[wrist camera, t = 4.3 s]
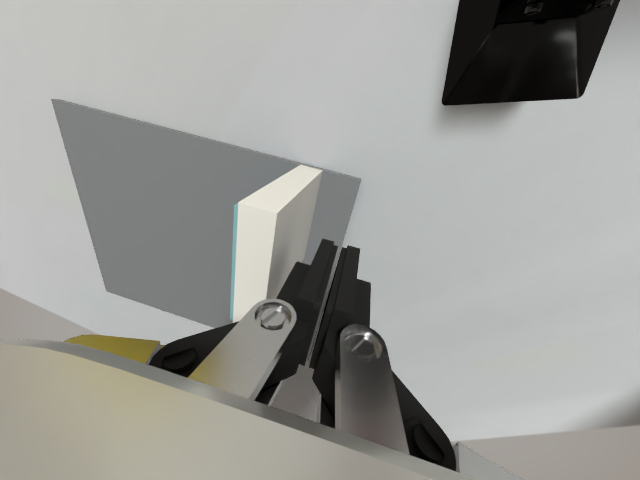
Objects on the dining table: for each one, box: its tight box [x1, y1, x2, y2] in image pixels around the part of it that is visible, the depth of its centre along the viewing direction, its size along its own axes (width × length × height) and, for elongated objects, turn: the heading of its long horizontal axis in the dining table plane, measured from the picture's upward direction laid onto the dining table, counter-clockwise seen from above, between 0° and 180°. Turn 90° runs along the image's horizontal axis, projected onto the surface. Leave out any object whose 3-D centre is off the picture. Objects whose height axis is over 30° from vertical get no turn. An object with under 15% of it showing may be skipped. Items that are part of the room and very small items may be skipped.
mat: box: [51, 99, 361, 360], centre depth 18 cm, size 20×16×1 cm
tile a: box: [230, 165, 323, 323], centre depth 12 cm, size 2×6×7 cm, turn 168°
